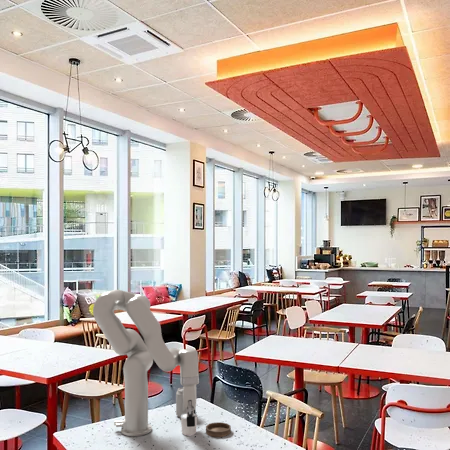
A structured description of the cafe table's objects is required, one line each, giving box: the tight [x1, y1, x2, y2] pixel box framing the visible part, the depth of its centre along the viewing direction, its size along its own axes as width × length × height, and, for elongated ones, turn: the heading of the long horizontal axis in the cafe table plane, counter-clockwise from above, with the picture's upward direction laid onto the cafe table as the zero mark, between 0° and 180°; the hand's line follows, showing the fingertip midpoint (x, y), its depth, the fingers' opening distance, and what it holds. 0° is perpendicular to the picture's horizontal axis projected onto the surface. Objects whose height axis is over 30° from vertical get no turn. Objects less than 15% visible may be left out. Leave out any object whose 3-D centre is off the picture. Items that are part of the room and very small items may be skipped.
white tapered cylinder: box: [180, 413, 198, 436], centre depth 200 cm, size 7×7×7 cm
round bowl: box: [205, 422, 232, 438], centre depth 200 cm, size 10×10×2 cm
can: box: [175, 387, 187, 419], centre depth 220 cm, size 8×8×12 cm
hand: (191, 422), depth 200 cm, fingers open, 9 cm apart
